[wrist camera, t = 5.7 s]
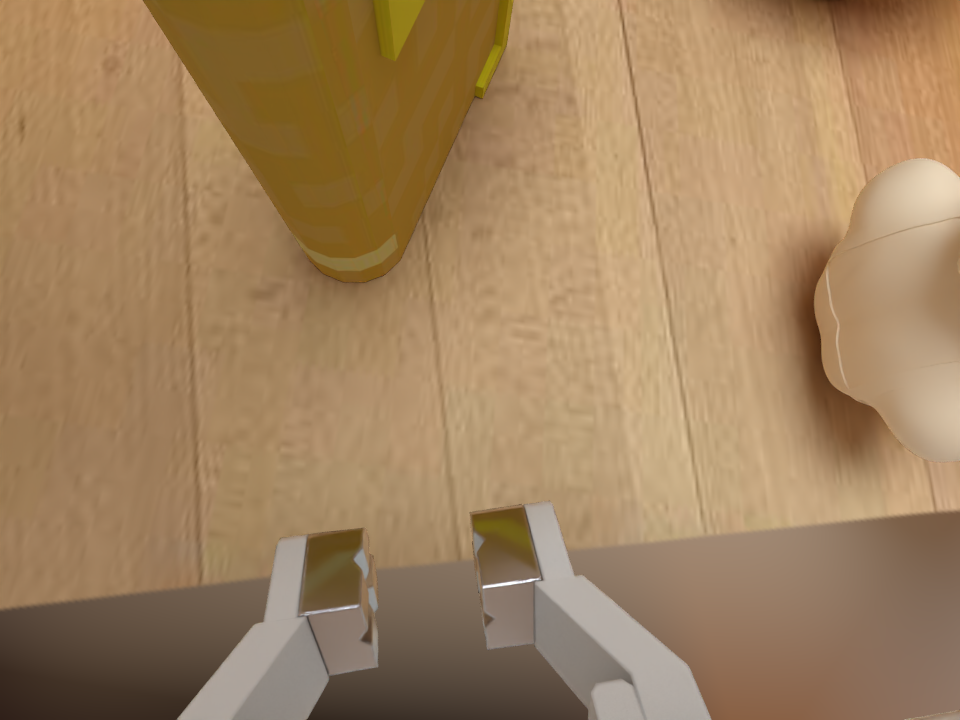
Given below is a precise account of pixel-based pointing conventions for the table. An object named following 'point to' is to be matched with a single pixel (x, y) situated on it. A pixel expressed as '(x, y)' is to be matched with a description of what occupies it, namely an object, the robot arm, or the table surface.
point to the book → (341, 107)
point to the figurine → (899, 306)
